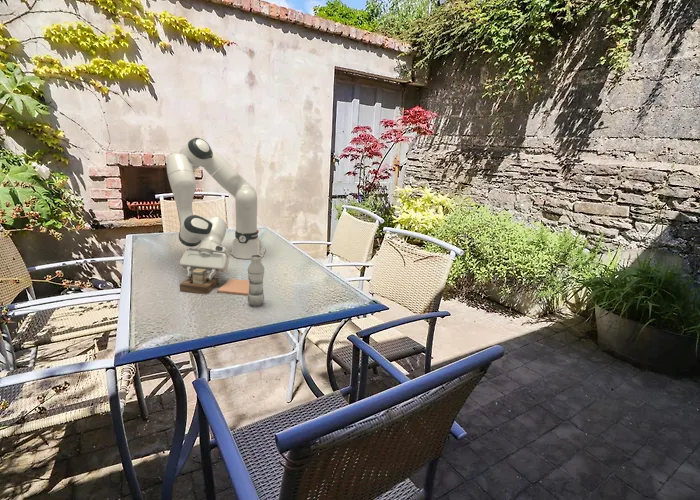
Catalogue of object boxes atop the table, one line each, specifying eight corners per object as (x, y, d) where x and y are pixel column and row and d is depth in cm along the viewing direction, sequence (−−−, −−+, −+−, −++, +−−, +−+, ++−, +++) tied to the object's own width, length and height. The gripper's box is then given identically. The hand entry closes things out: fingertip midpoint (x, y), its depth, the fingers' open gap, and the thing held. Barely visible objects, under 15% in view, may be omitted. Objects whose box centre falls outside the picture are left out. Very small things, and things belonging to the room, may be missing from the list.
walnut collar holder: (193, 281, 157) (193, 275, 156) (218, 284, 157) (218, 277, 156) (179, 291, 146) (179, 284, 145) (206, 294, 146) (206, 287, 145)
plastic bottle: (247, 308, 136) (247, 259, 131) (247, 300, 142) (247, 253, 137) (264, 307, 138) (265, 258, 133) (263, 300, 144) (264, 253, 139)
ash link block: (197, 285, 153) (197, 268, 151) (206, 286, 153) (206, 269, 151) (193, 289, 150) (192, 271, 147) (202, 290, 149) (201, 272, 147)
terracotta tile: (230, 280, 161) (230, 278, 161) (260, 283, 161) (260, 281, 160) (217, 292, 148) (217, 290, 148) (249, 295, 147) (249, 293, 147)
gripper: (183, 244, 154) (172, 272, 147) (228, 248, 153) (219, 277, 146) (189, 251, 160) (178, 278, 153) (233, 255, 158) (224, 283, 152)
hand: (199, 278), depth 150 cm, fingers open, 7 cm apart
